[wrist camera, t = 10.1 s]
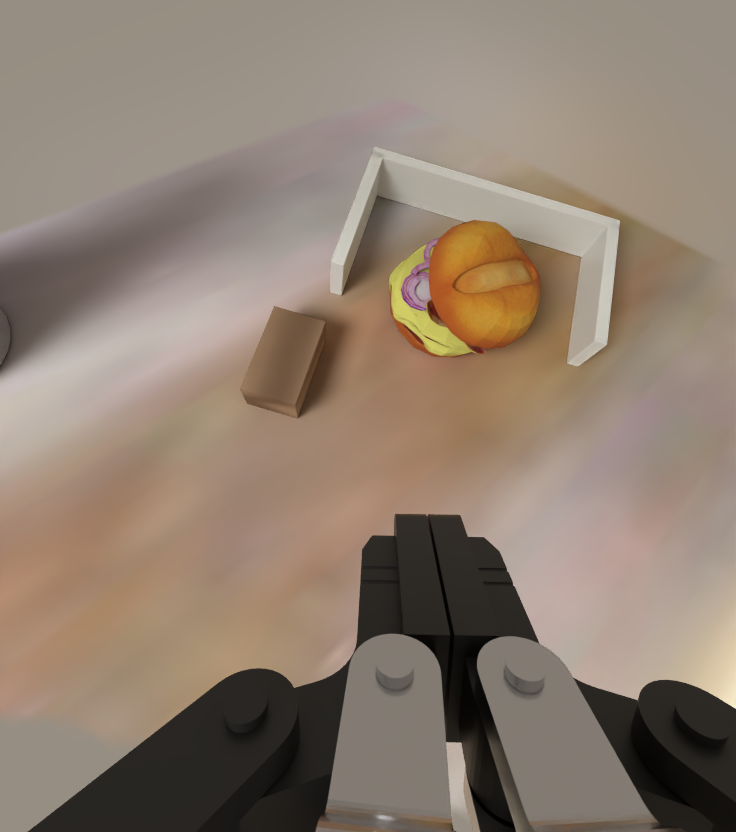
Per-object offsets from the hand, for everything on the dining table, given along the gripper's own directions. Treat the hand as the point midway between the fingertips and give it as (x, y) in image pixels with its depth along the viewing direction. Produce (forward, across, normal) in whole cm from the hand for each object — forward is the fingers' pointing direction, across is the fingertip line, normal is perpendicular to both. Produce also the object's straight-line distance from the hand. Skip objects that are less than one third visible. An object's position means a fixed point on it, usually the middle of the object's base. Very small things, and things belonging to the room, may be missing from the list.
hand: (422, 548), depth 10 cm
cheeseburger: (+30, -5, -3) cm, 30 cm away
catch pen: (+32, -7, -6) cm, 34 cm away
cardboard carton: (+25, +8, +1) cm, 26 cm away
